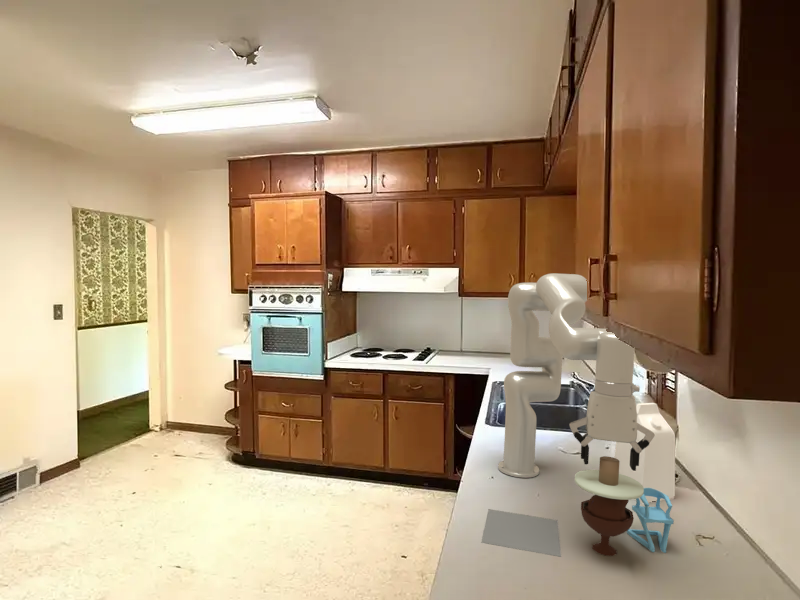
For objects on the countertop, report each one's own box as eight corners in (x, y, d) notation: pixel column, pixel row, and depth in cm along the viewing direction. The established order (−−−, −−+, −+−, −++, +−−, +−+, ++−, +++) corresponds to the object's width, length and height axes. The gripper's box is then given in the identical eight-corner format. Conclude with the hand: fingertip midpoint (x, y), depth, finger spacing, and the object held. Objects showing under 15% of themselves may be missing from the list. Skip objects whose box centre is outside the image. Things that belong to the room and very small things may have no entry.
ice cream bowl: (586, 533, 115) (590, 471, 115) (637, 551, 108) (641, 485, 107) (570, 551, 107) (574, 485, 106) (624, 572, 100) (628, 501, 99)
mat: (488, 511, 125) (488, 508, 125) (557, 522, 120) (557, 520, 120) (481, 544, 108) (481, 542, 108) (560, 559, 104) (561, 556, 104)
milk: (642, 482, 147) (647, 398, 146) (674, 499, 136) (680, 407, 136) (610, 486, 143) (615, 399, 143) (641, 503, 133) (646, 410, 132)
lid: (572, 469, 115) (573, 445, 115) (636, 478, 112) (637, 453, 111) (577, 493, 102) (578, 466, 102) (650, 504, 98) (651, 476, 98)
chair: (641, 551, 108) (644, 499, 108) (626, 532, 116) (629, 483, 116) (676, 554, 108) (680, 501, 107) (658, 534, 116) (662, 485, 116)
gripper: (652, 389, 107) (648, 464, 108) (570, 381, 112) (566, 454, 113) (660, 396, 100) (656, 477, 101) (572, 388, 105) (568, 466, 105)
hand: (608, 465), depth 107 cm, fingers open, 9 cm apart
